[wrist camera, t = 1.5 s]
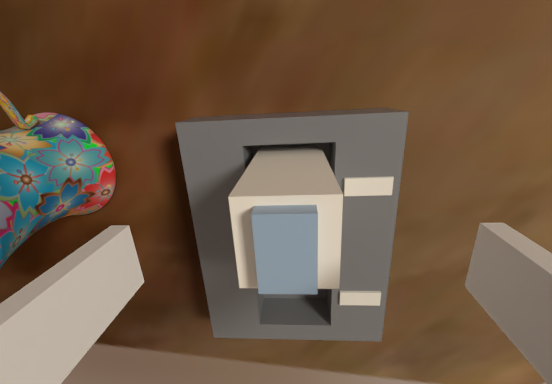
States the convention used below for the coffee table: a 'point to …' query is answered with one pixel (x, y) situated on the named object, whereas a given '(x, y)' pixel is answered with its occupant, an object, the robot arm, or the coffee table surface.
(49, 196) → the mug
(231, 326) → the panel
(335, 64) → the coffee table surface
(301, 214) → the plug
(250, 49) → the coffee table surface
